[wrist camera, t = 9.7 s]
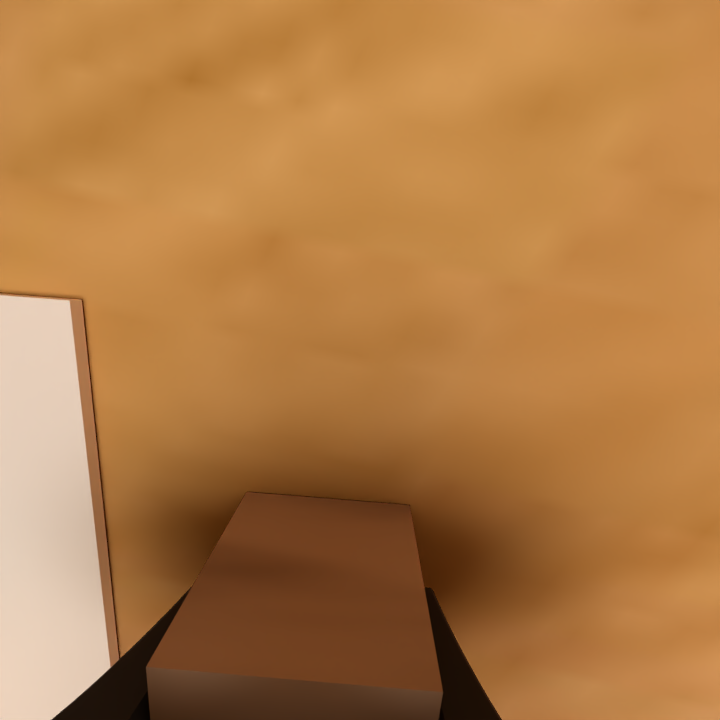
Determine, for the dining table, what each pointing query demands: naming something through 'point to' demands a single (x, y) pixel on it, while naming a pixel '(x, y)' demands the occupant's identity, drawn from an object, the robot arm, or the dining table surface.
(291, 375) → the dining table surface
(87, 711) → the robot arm
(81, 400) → the white flat board
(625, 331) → the dining table surface
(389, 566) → the walnut block
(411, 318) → the dining table surface
